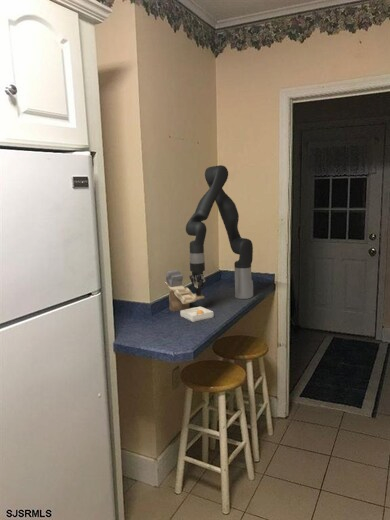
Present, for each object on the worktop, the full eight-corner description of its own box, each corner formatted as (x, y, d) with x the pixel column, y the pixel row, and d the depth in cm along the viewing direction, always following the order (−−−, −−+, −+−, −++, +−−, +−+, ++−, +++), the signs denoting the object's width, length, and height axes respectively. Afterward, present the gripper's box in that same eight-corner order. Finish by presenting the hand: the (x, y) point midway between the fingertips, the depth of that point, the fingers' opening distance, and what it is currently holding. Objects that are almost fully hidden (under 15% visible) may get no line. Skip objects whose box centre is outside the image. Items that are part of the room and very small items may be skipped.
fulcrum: (169, 309, 222) (168, 290, 220) (185, 306, 227) (184, 287, 225) (173, 311, 218) (172, 291, 217) (189, 308, 223) (188, 288, 222)
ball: (200, 309, 208) (204, 309, 205) (202, 316, 207) (205, 316, 204) (194, 310, 206) (198, 310, 203) (196, 318, 206) (199, 317, 203)
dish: (200, 311, 216) (200, 306, 216) (213, 317, 206) (213, 311, 206) (180, 316, 210) (180, 310, 210) (192, 321, 201) (192, 316, 200)
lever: (164, 282, 226) (166, 271, 222) (186, 279, 232) (188, 268, 229) (183, 304, 211) (185, 292, 208) (205, 299, 218) (207, 287, 215)
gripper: (210, 262, 212) (211, 296, 215) (196, 258, 223) (197, 291, 226) (197, 264, 208) (199, 299, 211) (184, 260, 219) (185, 293, 222)
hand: (198, 295), depth 218 cm, fingers closed
